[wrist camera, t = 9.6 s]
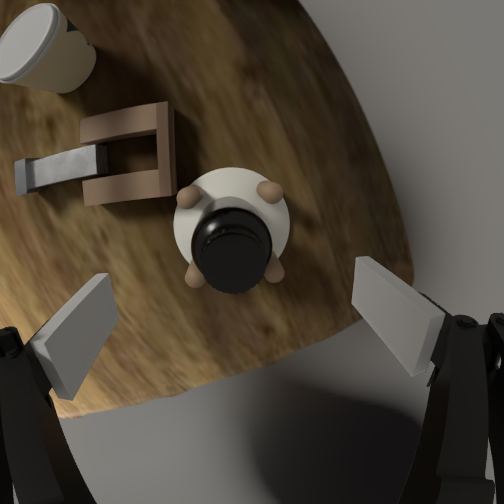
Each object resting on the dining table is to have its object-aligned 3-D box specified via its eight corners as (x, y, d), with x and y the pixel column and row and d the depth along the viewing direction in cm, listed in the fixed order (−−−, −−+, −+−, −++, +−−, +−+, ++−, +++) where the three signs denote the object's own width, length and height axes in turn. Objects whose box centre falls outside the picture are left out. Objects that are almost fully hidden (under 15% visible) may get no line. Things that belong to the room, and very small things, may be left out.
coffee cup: (115, 42, 23) (73, 0, 12) (79, 106, 25) (21, 87, 14) (67, 34, 22) (22, 2, 10) (35, 92, 24) (-21, 77, 12)
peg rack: (152, 231, 31) (138, 243, 25) (227, 143, 29) (227, 137, 23) (236, 299, 34) (238, 322, 29) (311, 221, 32) (327, 231, 27)
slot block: (97, 202, 29) (84, 206, 26) (93, 123, 26) (80, 119, 23) (177, 193, 30) (171, 195, 27) (174, 108, 27) (167, 101, 24)
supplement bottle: (195, 251, 31) (178, 299, 20) (203, 191, 29) (188, 206, 18) (255, 260, 32) (270, 311, 21) (266, 201, 30) (290, 222, 19)
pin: (35, 192, 27) (16, 196, 23) (33, 161, 26) (14, 162, 22) (108, 177, 28) (92, 178, 24) (107, 142, 27) (91, 139, 23)
